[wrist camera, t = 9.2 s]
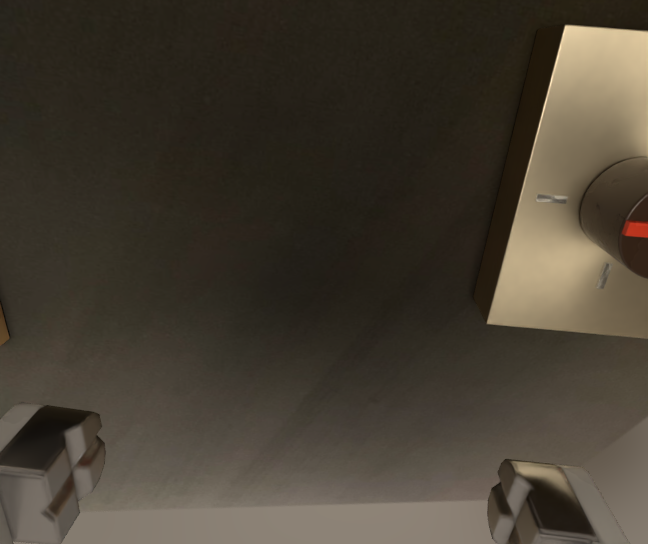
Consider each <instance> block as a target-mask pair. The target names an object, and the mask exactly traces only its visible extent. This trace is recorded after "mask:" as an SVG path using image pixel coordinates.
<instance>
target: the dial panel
mask: <svg viewBox="0 0 648 544" xmlns="http://www.w3.org/2000/svg"><path fill="white" fill-rule="evenodd" d="M638 157H648V31H646V30H633V29H621V28H608V27H595V26H582V25H569V24H565V25H559V26H552V27H546V28H540V29H538V30H537V34H536V38H535V42H534V46H533V50H532V55H531V59H530V63H529V67H528V71H527V75H526V80H525V84H524V88H523V92H522V96H521V100H520V105H519V109H518V113H517V117H516V121H515V125H514V129H513V134H512V138H511V142H510V146H509V150H508V154H507V159H506V163H505V167H504V171H503V175H502V179H501V183H500V188H499V192H498V196H497V200H496V204H495V208H494V213H493V217H492V221H491V225H490V229H489V233H488V238H487V242H486V246H485V250H484V254H483V258H482V262H481V267H480V271H479V275H478V279H477V283H476V287H475V292H474V296H473V298H474V300H475V302H476V304H477V306H478V308H479V310H480V312H481V314H482V316H483V318H484V320H485V322H486V324H491V325H502V326H513V327H525V328H536V329H547V330H558V331H569V332H580V333H591V334H602V335H613V336H625V337H636V338H647V339H648V279H646V278H643V277H640V276H638V275H636V274H635V273H633V272H632V271H630V270H629V269H628V268H626V267H625V266H624V265H622V264H621V263H620V262H618V261H617V260H616V259H614V258H613V257H612V256H611V255H609V254H608V253H607V252H605V251H604V250H603V249H601V248H600V247H599V246H597V245H596V244H595V243H593V242H592V241H591V240H590V239H589V238H588V237H587V235H586V234H585V232H584V230H583V228H582V225H581V220H580V211H581V205H582V201H583V198H584V196H585V194H586V192H587V190H588V189H589V187H590V186H591V184H592V183H593V182H594V181H595V180H596V178H598V177H599V176H600V175H601V174H602V173H603V172H604V171H606V170H607V169H609V168H610V167H612V166H613V165H616V164H618V163H620V162H622V161H625V160H628V159H632V158H638Z"/></svg>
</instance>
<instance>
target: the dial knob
mask: <svg viewBox="0 0 648 544" xmlns="http://www.w3.org/2000/svg"><path fill="white" fill-rule="evenodd" d="M580 220H581V225H582V228H583V230H584V232H585V234H586V235H587V237H588V238H589V239H590V240H591V241H592V242H593V243H595V244H596V245H597V246H599V247H600V248H601V249H603V250H604V251H605V252H607V253H608V254H609V255H611V256H612V257H613V258H614V259H616V260H617V261H618V262H620V263H621V264H622V265H624V266H625V267H626V268H628V269H629V270H630V271H632V272H633V273H635V274H636V275H638V276H640V277H643V278H646V279H648V157H638V158H632V159H628V160H625V161H622V162H620V163H618V164H616V165H613V166H612V167H610V168H609V169H607V170H606V171H604V172H603V173H602V174H601V175H600V176H599V177H598V178H596V180H595V181H594V182H593V183H592V184H591V186H590V187H589V189H588V190H587V192H586V194H585V196H584V198H583V201H582V205H581V211H580Z"/></svg>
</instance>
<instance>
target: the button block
mask: <svg viewBox="0 0 648 544" xmlns="http://www.w3.org/2000/svg"><path fill="white" fill-rule="evenodd" d="M8 339H9V334H8V330H7V327H6V323H5V319H4V315H3V311H2V308H1V304H0V346H1V345H2V344H3V343H5V342H6V341H7V340H8Z"/></svg>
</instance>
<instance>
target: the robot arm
mask: <svg viewBox="0 0 648 544" xmlns="http://www.w3.org/2000/svg"><path fill="white" fill-rule="evenodd" d="M101 427H102V424H101V419H100V415H99V414H98V413H95V412H91V411H84V410H77V409H70V408H63V407H56V406H48V405H46V406H45V405H38V404H31V403H24V402H22V403H19V404H17V405H15V406H13V407H12V408H11V409H10V410H9V411H8V412H7V413H6V414H5V415H4V416H3V417H2V418H1V419H0V544H13V541H14V542H26V543H38V544H61V543H62V541H63V539H64V538H65V536H66V535H67V533H68V531H69V529H70V528H71V526H72V525H73V523H74V521H75V520H76V518H77V516H78V515H79V513H80V510H79V504H78V501H79V500H81V499H82V498H84V497H85V496H87V495H88V494H90V493H91V492H92V491H93V490H94V488H95V486H96V484H97V483H98V481H99V479H100V476H101V473H102V470H103V467H104V464H105V455H106V450H105V443H104V442H103V441H102V440H101V439H100V438H99V437H98V436H97V433H98V432H99V430H100V429H101ZM498 475H499V478H500V481H501V482H500V483H499V484H497V485H496V486H494V487H493V488H492V489H491V492H490V495H489V499H488V511H487V514H488V521H489V528H490V532H491V535H492V539H493V540H494V541H495V542H496V543H497V544H630V543H629V542H628V539H627V538H626V536H625V535H624V532H623V531H622V529H621V527H620V526H619V524H618V522H617V520H616V519H615V517H614V515H613V514H612V512H611V510H610V508H609V507H608V505H607V503H606V501H605V500H604V498H603V496H602V495H601V493H600V491H599V489H598V487H597V486H596V484H595V482H594V480H593V479H592V477H591V475H590V473H589V472H588V471H587V470H586V469H585V468H583V467H578V466H568V465H559V464H556V465H555V464H550V463H540V462H531V461H521V460H511V459H505V460H504V461H503V462H502V463H501V465H500V467H499V470H498Z"/></svg>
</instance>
